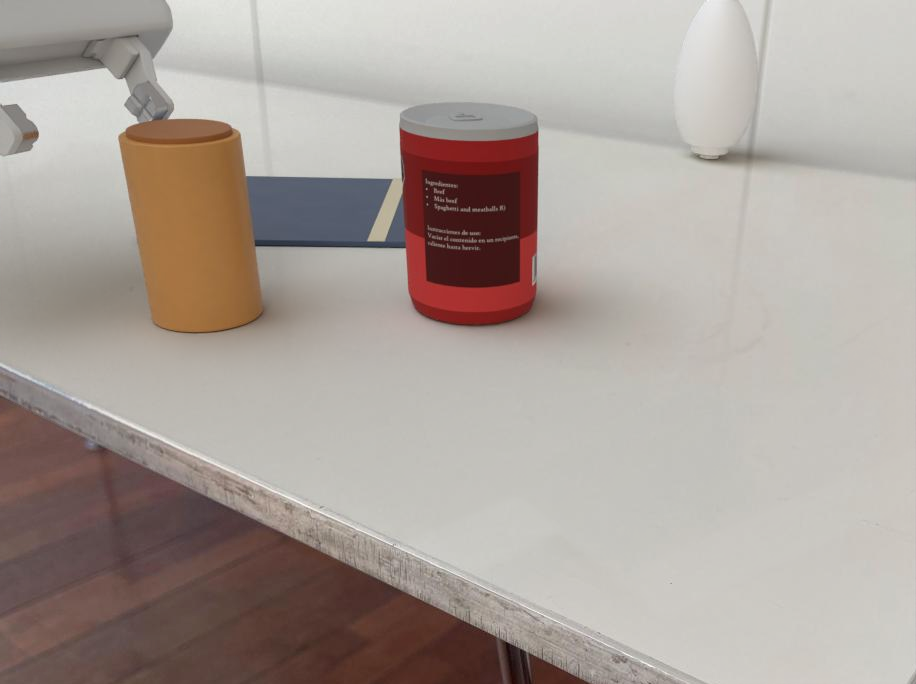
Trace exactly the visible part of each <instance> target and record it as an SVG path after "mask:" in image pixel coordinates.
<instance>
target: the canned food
mask: <svg viewBox="0 0 916 684" xmlns="http://www.w3.org/2000/svg"><path fill="white" fill-rule="evenodd" d="M398 127H399V154H400V155H399V156H400V169H401V178H402V190H403V207H404V224H405V241H406V247H405V257H406V273H407V290H408V295H409V297H410V301H411V303H412V305H413V306H414V308H415V310H417V311H418V312H419V313H420V314H422V315H424V316H426V317H427V318H430V319H432V320H436V321H439V322H443V323H449V324H455V325H466V326H468V325H469V326H479V325H480V326H481V325H483V326H485V325H494V324H500V323H505V322H508V321H513V320H515V319H517V318H520V317H522V316H524V315H525V314H526V313H527V312H529V311H530V310H531V309H532V307H533V305H534V302H535V298H536V295H537V290H538V289H537V288H538V287H537V285H538V284H537V283H538V281H537V280H538V228H539V227H538V226H539V225H538V220H539V219H538V217H539V216H538V215H539V161H540V160H539V154H540V152H539V151H540V149H539V148H540V146H539V131H540V130H539V129H540V128H539V124H538V116H537V115H536V114H535V113H533V112H531V111H529V110H526V109H524V108H520V107H516V106H512V105H505V104H497V103H487V102H470V101H467V102H466V101H465V102H464V101H453V102H452V101H451V102H450V101H449V102H448V101H447V102H433V103H424V104H418V105H413V106H411V107H408V108H405V109H404V110H402V111H401V112H400V113H399V122H398Z"/></svg>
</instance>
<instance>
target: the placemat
mask: <svg viewBox="0 0 916 684" xmlns="http://www.w3.org/2000/svg"><path fill="white" fill-rule="evenodd" d="M246 180H247V187H248V195H249V203H250V211H251V218H252V226H253V234H254V242H255V246H279V247H280V246H281V247H282V246H285V247H286V246H289V247H294V246H295V247H356V248H357V247H358V248H359V247H360V248H361V247H363V248H365V247H366V248H406V241H405V224H404V207H403V190H402V177H401V178H396V177H393V178H374V177H373V178H366V177H365V178H364V177H322V176H321V177H319V176H318V177H316V176H270V175H269V176H266V175H262V176H261V175H246ZM136 243H137V244H138V242H137V241H136Z"/></svg>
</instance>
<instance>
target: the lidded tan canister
mask: <svg viewBox="0 0 916 684" xmlns="http://www.w3.org/2000/svg"><path fill="white" fill-rule="evenodd" d="M117 139H118V145H119V150H120V155H121V156H120V157H121V162H122V167H123V172H124V178H125V181H126V182H125V183H126V188H127V193H128V198H129V204H130V209H131V214H132V215H131V216H132V221H133V226H134V230H135V236H136V243H137V242H138V243H137V247H138V253H139V259H140V263H141V268H142V269H141V270H142V275H143V278H144V285H145V290H146V295H147V301H148V306H149V311H150V312H149V313H150V317H151V320H152V322H153V323H154V324H155V325H156V326H158V327H159V328H161V329H166V330H170V331H175V332H183V333H210V332H218V331H224V330H229V329H230V330H231V329H234V328H237V327H241V326H243V325H247V324H248V323H251V322H253V321H254V320H257V318H259V317H260V316H261V315H262V313H263V310H264V305H263V297H262V296H263V295H262V289H261V282H260V273H259V266H258V257H257V251H256V245H255V242H254V234H253V226H252V218H251V211H250V203H249V195H248V187H247V180H246V176H247V172H246V165H245V157H244V149H243V141H242V134H241V132H240V130H238V129H236V128H235V127H232V125H231V124H229V123H227V122H224V121H221V120H220V121H219V120H215V119H214V120H213V119H204V118H168V119H166V120H155V121H148V122H142V123H139V122H138V123H134V124H131V125H130V126H128V127H126V128H125V130H124V131H123V132H121V133H119V134H118V137H117Z"/></svg>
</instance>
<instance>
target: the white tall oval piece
mask: <svg viewBox="0 0 916 684" xmlns="http://www.w3.org/2000/svg"><path fill="white" fill-rule="evenodd" d="M676 62H677V63H676V66H675V72H674V78H673V86H672V87H673V89H672V90H673V91H672V104H673V113H674V118H675V124H676V126H677V127H676V128H677V130H678V132H679V135H680V137H681V139H682V141H683V142H684V144H685V143H686V144H687V145H690V146H691V147H690V148H691V149H690V150H691V152H692V153H694V154H698V155H699V158H701V159H704V160H705V159H706V160H716V159H719V158H720V157H719V156H724V155H727V154H728V153H729V149H730V148H732V147H736V146H737V145H739V143H740V142H741V140H742V139H743V138H744V135H745V133H746V132H747V130H748V128H749V127H750V123H751V121H752V118H753V115H754V112H755V107H756V103H757V97H758V86H759V66H758V56H757V47H756V43H755V38H754V34H753V31H752V27H751V24H750V21H749V17H748V15H747V13H746V11H745V9H744V6H743V5H742V4H741V2H740V1H739V0H705V1H704V2H703V4H702V5H701V6H700V8H699V9H698V11H697V12H696V14H695V16H694V18H693V20H692V21H691V23H690V25H689V27H688V29H687V32H686V34H685V37H684V39H683V42H682V45H681V47H680V51H679V54H678V57H677V61H676Z"/></svg>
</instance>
